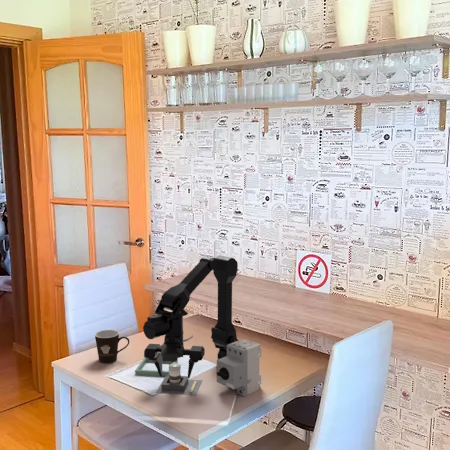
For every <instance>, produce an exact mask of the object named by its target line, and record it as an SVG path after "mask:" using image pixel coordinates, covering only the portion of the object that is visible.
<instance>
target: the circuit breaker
mask: <svg viewBox="0 0 450 450" xmlns="http://www.w3.org/2000/svg"><path fill="white" fill-rule="evenodd" d="M238 340H239V341H236V342H233V343H231V344H228V345H227V356H226V357H223V358H221V359H218V358H217V360H216V367H215V369H216V382H217V383H218V384H219V385H223V386H225V387H227V388H229V389H232V390H236V391H235V394H237V395H240V396H242V397H246V396H248V395H250V394H252V393H255V392H257V391H259V390H261V389H262V387H261V385H262V375H261V374H260V358H262V348H261V345H262V344H260V343H258V342H254V341H251V340H249V339H246V338H243V339H238Z"/></svg>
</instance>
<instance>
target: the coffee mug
mask: <svg viewBox="0 0 450 450" xmlns="http://www.w3.org/2000/svg"><path fill="white" fill-rule="evenodd" d="M119 336H120V332H119V331H118V330H115V329H104V330H100V331H97V332H96V333H94V338H95V343H96V344H95V345H96V350H97V356H98V362H99V363H101V364H113V363H115V362H116V361H117V360H118V354H119V353H120V352H121V351H123V350H125V349H127V347H128V346H129V345H130V339H129V338H128V337H126V336H120V337H119ZM122 339H125V340H126V341H127V344H125V346H124V347H122V348H120V349H119V343H120V341H121V340H122ZM118 349H119V350H118Z"/></svg>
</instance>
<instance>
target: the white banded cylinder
mask: <svg viewBox="0 0 450 450" xmlns="http://www.w3.org/2000/svg"><path fill="white" fill-rule="evenodd" d="M168 370H169V383H173V384H181V376H182V375H181V374H182V373H181V370H182V367H181V364H180V363H179V362H178V363H173V364H172V363H169V365H168Z"/></svg>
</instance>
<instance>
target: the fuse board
mask: <svg viewBox="0 0 450 450" xmlns="http://www.w3.org/2000/svg"><path fill="white" fill-rule="evenodd" d="M202 383H203V380H201V379H189V378H188V375H187V376H186V375H181V384H173V383H169V375H167V376H164V378H163V379H162V381H161V382H160V385H159V386H158V389H157V390H156V392H155V393H156V394H167V395H182V396H183V395H185V396H197V394H198V393H199V390H200V388H201V386H202Z"/></svg>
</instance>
